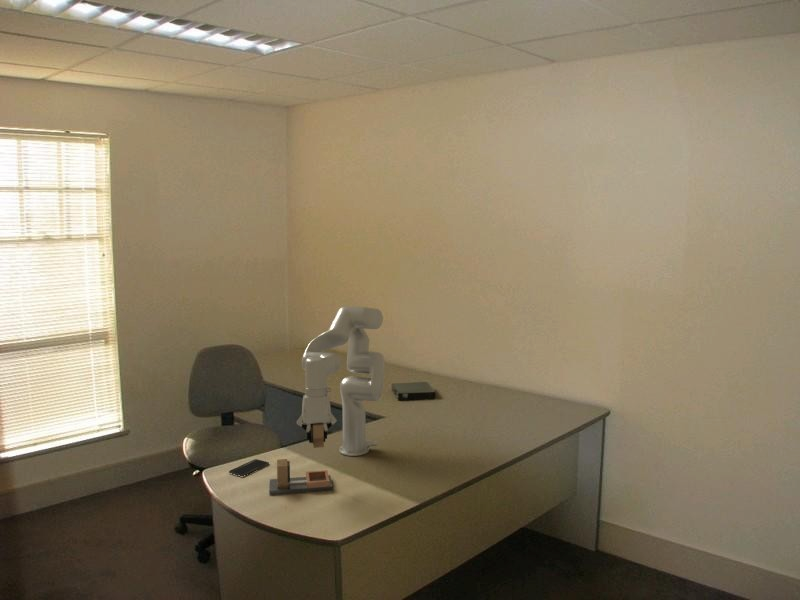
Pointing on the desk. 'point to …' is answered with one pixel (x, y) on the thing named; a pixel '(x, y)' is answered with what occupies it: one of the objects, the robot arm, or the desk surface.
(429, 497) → the desk surface
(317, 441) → the small cardboard box
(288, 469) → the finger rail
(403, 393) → the network switch
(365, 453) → the robot arm
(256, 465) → the phone
